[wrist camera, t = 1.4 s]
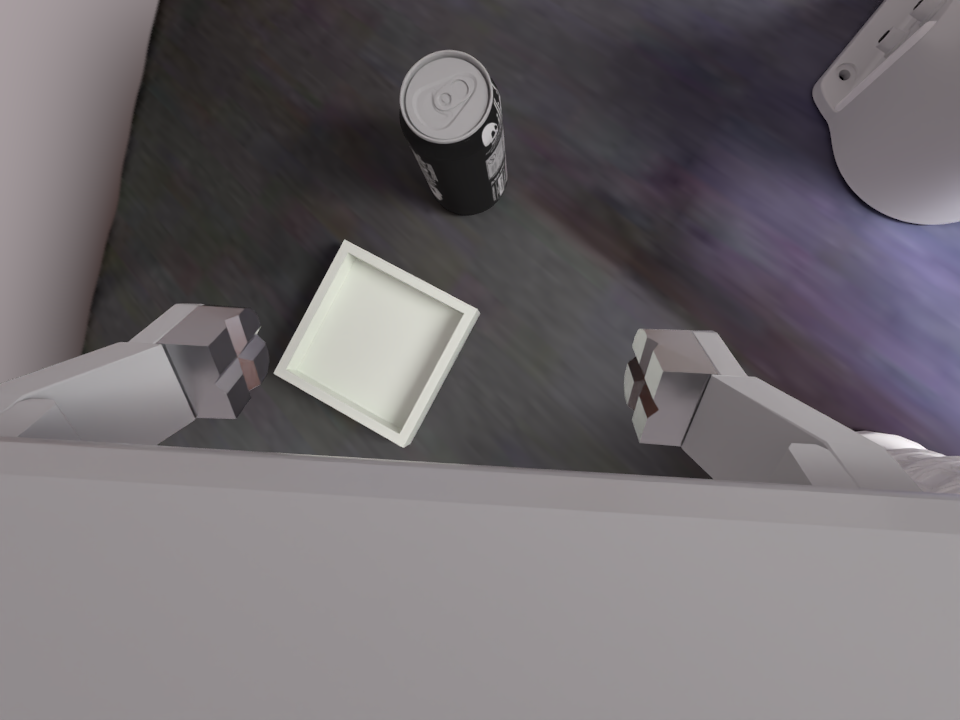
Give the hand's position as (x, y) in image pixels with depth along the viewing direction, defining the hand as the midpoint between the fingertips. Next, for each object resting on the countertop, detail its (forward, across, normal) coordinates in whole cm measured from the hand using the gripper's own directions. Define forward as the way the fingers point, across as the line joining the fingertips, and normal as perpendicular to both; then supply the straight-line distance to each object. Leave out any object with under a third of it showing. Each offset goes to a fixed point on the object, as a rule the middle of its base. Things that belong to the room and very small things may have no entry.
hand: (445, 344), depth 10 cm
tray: (+24, +8, +17) cm, 31 cm away
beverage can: (+33, +2, +5) cm, 33 cm away
